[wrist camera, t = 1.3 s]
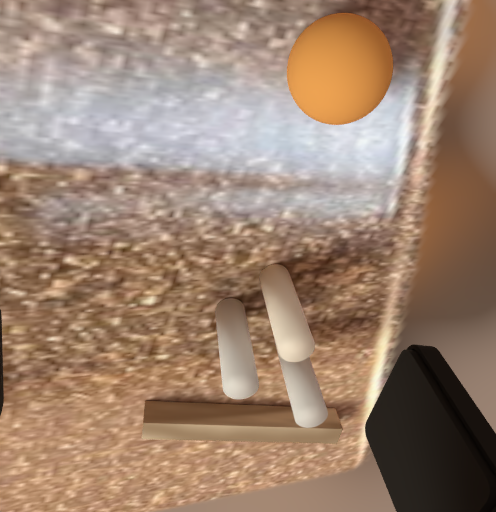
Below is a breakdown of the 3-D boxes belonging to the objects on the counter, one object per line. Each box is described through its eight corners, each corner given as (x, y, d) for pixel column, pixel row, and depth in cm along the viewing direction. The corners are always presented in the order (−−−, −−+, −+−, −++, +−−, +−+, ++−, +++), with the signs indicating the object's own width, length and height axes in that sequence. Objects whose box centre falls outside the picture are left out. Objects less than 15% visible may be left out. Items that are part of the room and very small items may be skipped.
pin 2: (277, 326, 40) (298, 403, 33) (304, 328, 40) (331, 404, 33) (272, 348, 41) (291, 427, 34) (298, 350, 42) (323, 428, 34)
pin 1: (217, 297, 38) (225, 371, 30) (247, 299, 38) (262, 373, 31) (213, 321, 39) (220, 398, 32) (241, 323, 39) (255, 400, 32)
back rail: (145, 400, 42) (143, 422, 40) (335, 408, 46) (342, 429, 44) (143, 416, 43) (141, 439, 41) (329, 422, 47) (336, 443, 45)
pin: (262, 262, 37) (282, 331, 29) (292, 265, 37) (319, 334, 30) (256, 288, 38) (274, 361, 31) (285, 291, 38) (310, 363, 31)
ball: (290, 1, 28) (314, 4, 23) (383, 20, 29) (427, 28, 24) (270, 104, 31) (287, 128, 26) (356, 118, 32) (389, 143, 27)
